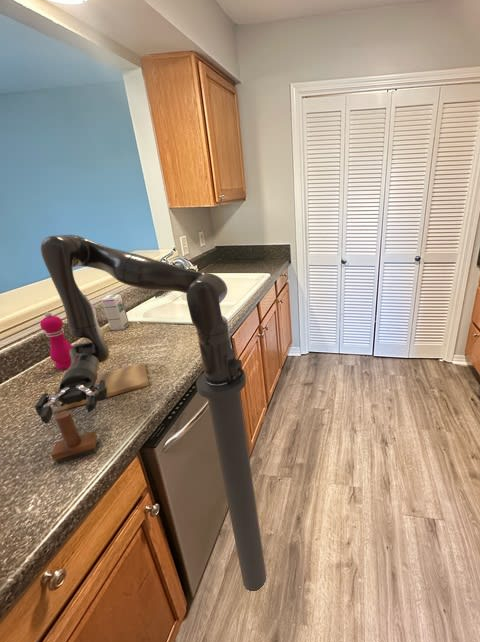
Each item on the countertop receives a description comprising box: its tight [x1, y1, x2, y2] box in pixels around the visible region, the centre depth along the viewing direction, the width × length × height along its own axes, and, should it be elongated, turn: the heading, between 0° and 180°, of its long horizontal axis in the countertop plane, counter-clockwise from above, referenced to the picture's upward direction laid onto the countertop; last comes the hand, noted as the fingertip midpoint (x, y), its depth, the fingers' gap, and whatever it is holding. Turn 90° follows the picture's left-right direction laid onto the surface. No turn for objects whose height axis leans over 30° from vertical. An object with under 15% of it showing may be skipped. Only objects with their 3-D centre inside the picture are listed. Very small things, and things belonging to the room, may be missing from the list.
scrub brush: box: [50, 410, 98, 465], centre depth 73 cm, size 8×4×11 cm, turn 114°
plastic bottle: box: [84, 294, 105, 343], centre depth 125 cm, size 6×7×20 cm
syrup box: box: [101, 293, 130, 331], centre depth 141 cm, size 6×6×14 cm
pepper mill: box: [39, 311, 73, 371], centre depth 110 cm, size 7×7×20 cm
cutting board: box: [55, 362, 150, 413], centre depth 100 cm, size 24×14×1 cm, turn 119°
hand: (67, 414), depth 74 cm, fingers open, 8 cm apart
